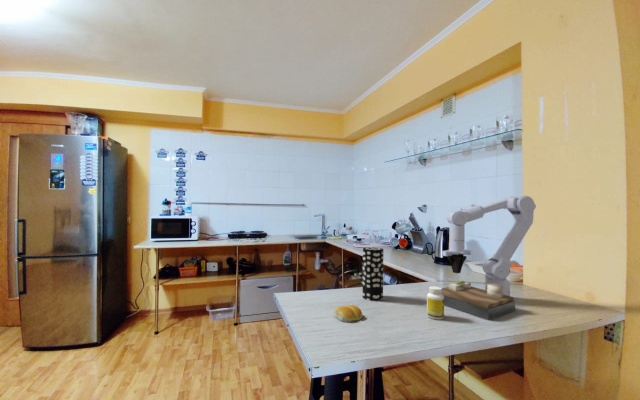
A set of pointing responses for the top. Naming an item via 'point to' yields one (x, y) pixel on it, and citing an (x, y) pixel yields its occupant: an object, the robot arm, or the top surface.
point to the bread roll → (348, 313)
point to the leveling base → (479, 308)
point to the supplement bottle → (435, 303)
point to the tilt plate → (477, 294)
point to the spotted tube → (372, 274)
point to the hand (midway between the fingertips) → (456, 272)
